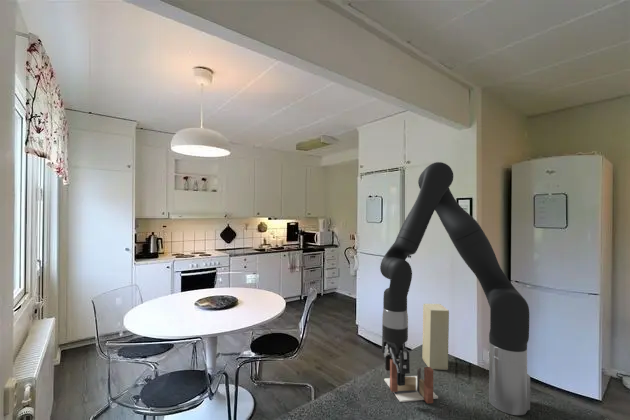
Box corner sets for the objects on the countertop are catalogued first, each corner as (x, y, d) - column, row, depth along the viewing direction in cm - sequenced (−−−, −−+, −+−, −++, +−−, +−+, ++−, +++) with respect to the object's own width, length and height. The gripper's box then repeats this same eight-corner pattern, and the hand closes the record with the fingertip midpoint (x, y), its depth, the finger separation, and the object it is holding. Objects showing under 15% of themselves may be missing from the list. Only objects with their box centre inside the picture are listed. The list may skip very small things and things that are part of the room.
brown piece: (420, 390, 93) (420, 358, 93) (433, 404, 86) (433, 370, 86) (415, 391, 93) (415, 359, 93) (427, 405, 86) (427, 370, 86)
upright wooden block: (450, 370, 106) (451, 310, 106) (429, 369, 106) (430, 309, 106) (441, 359, 114) (442, 303, 114) (422, 358, 114) (422, 303, 114)
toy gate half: (413, 387, 93) (414, 358, 93) (416, 390, 91) (416, 361, 92) (389, 388, 93) (390, 359, 93) (391, 391, 91) (392, 361, 91)
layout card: (417, 376, 101) (417, 375, 101) (438, 398, 89) (438, 396, 89) (384, 379, 99) (384, 378, 99) (400, 402, 87) (400, 400, 87)
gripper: (418, 331, 85) (417, 389, 85) (396, 315, 99) (396, 364, 99) (393, 333, 84) (392, 391, 84) (374, 316, 98) (374, 366, 98)
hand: (394, 377), depth 91 cm, fingers open, 8 cm apart
